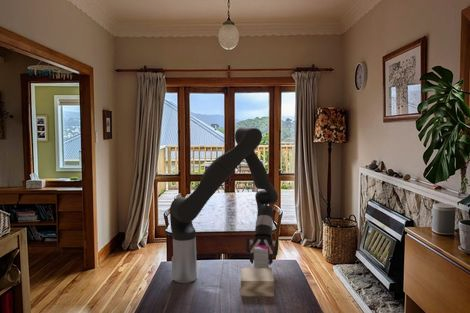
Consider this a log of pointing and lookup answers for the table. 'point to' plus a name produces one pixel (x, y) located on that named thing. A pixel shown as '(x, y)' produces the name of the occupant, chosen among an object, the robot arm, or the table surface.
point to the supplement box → (261, 256)
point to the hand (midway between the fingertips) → (260, 263)
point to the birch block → (257, 282)
